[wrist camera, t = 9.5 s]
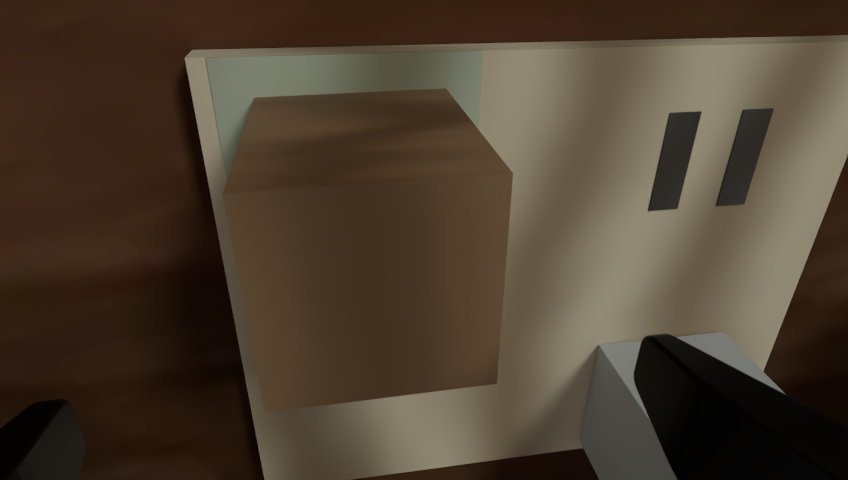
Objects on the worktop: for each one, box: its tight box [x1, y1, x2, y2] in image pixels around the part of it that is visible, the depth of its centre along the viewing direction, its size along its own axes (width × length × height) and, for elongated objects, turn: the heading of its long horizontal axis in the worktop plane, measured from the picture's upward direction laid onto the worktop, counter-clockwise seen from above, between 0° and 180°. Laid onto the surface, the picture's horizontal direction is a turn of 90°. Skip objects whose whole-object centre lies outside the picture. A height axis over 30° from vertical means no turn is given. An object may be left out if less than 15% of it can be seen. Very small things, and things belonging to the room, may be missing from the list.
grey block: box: [580, 332, 785, 480], centre depth 20 cm, size 5×5×6 cm
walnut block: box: [222, 88, 513, 413], centre depth 14 cm, size 5×5×6 cm
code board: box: [185, 35, 848, 480], centre depth 20 cm, size 20×16×1 cm
